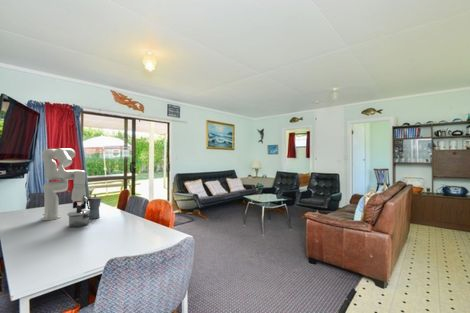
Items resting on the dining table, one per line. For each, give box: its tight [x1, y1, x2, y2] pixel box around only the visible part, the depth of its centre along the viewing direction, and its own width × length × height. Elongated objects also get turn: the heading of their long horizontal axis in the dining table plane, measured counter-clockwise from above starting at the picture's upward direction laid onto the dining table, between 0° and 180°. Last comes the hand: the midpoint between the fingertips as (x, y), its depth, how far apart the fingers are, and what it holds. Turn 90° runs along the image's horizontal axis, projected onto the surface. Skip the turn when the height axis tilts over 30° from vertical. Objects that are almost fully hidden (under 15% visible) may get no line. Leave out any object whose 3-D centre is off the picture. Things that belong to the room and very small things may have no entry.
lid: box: [67, 204, 90, 217], centre depth 179 cm, size 14×14×6 cm
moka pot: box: [86, 194, 102, 220], centre depth 200 cm, size 10×15×20 cm, turn 174°
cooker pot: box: [67, 213, 91, 229], centre depth 179 cm, size 21×13×9 cm, turn 72°
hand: (79, 208), depth 179 cm, fingers open, 8 cm apart
